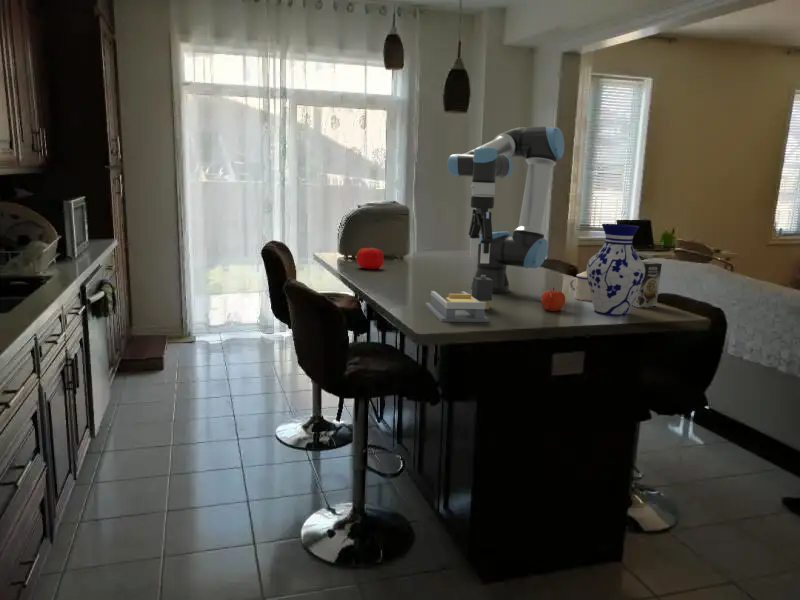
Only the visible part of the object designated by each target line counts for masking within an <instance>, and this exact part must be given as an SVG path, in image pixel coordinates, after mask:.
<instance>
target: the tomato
mask: <svg viewBox="0 0 800 600" xmlns="http://www.w3.org/2000/svg"><path fill="white" fill-rule="evenodd" d="M384 260H385V258H384V252H383V251H382V250H381V249H380V248H379V249H378V248H374V246H373V247H371V246H370V247H361V248H360V249H359V250H358V251H357V253H356V262H357V264H358V265H359V267H361V268H362V269H366V270H377V269H380V268H381V267H382V266H383V265H384V262H385V261H384Z"/></svg>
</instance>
